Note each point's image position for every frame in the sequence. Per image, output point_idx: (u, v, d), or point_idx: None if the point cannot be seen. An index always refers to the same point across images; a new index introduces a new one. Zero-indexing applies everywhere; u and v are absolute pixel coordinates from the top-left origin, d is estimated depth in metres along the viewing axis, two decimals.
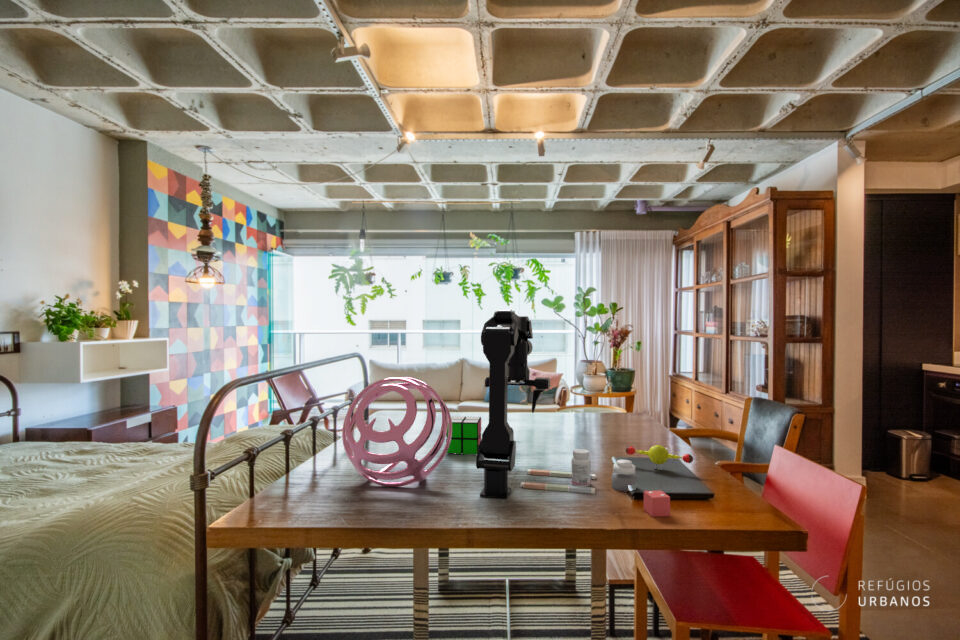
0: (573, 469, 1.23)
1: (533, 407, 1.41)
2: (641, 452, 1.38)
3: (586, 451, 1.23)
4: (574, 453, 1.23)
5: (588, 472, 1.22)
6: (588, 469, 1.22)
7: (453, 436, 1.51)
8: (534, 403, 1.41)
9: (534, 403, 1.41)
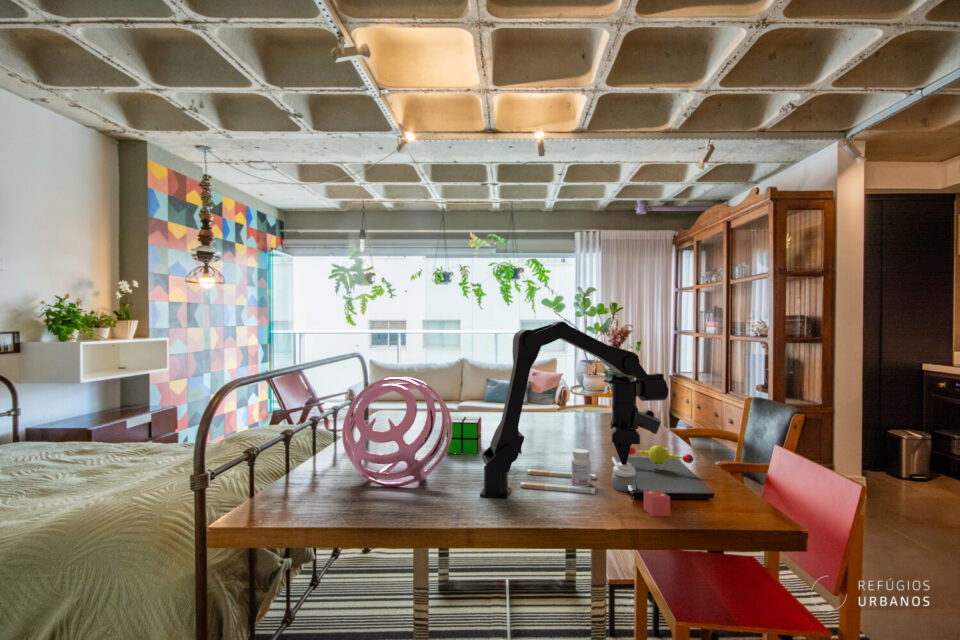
0: (573, 469, 1.23)
1: (619, 457, 1.21)
2: (641, 452, 1.38)
3: (586, 451, 1.23)
4: (574, 453, 1.23)
5: (588, 472, 1.22)
6: (588, 469, 1.22)
7: (453, 436, 1.51)
8: (617, 452, 1.21)
9: (618, 452, 1.21)
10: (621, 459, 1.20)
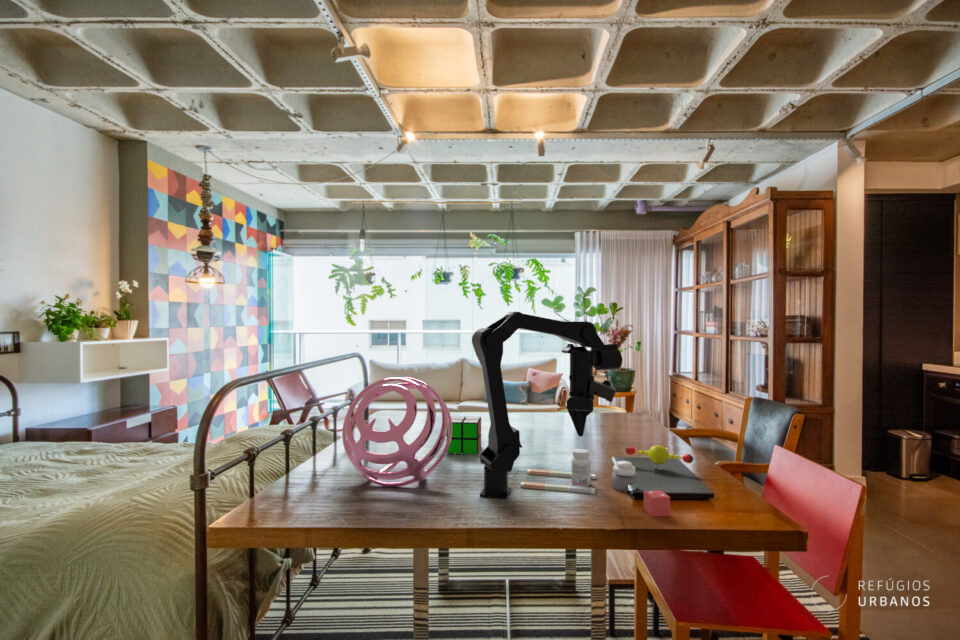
0: (573, 469, 1.23)
1: None
2: (641, 452, 1.38)
3: (586, 451, 1.23)
4: (574, 453, 1.23)
5: (588, 472, 1.22)
6: (588, 469, 1.22)
7: (453, 436, 1.51)
8: None
9: (574, 424, 1.19)
10: (577, 431, 1.19)
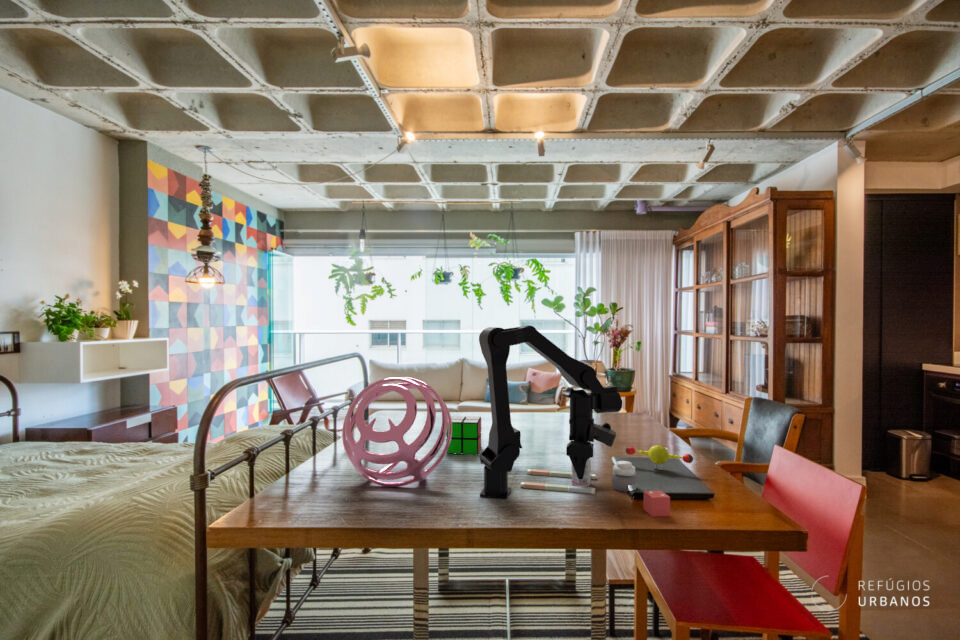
0: (573, 469, 1.23)
1: (576, 472, 1.21)
2: (641, 452, 1.38)
3: None
4: None
5: (588, 472, 1.22)
6: (588, 469, 1.22)
7: (453, 436, 1.51)
8: (574, 467, 1.21)
9: (574, 467, 1.21)
10: (577, 474, 1.21)
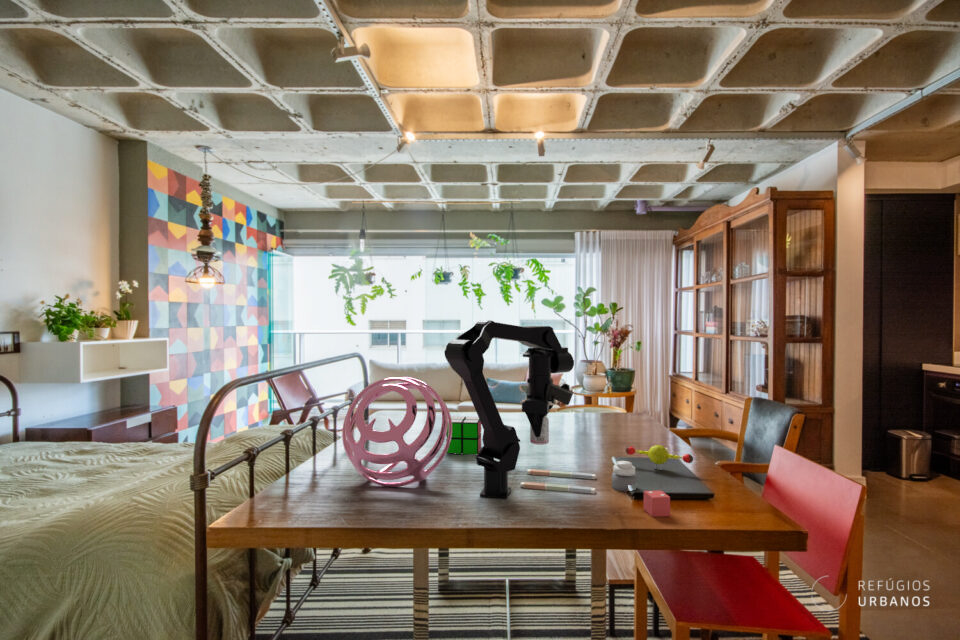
0: (531, 427, 1.25)
1: None
2: (641, 452, 1.38)
3: None
4: None
5: (545, 430, 1.24)
6: (545, 427, 1.24)
7: (453, 436, 1.51)
8: (531, 425, 1.23)
9: None
10: (535, 432, 1.23)
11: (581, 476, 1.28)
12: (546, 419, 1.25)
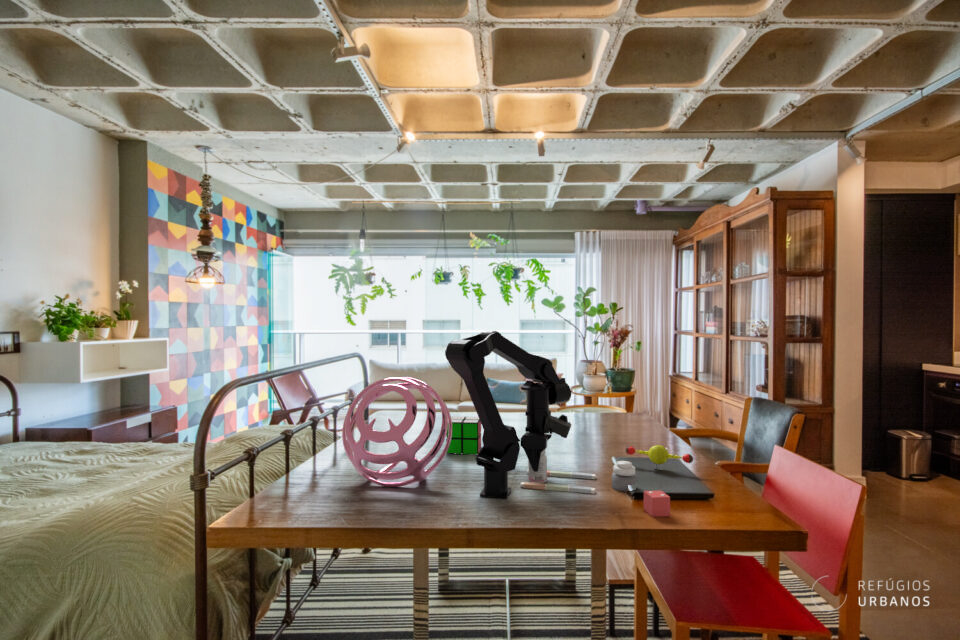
0: (529, 466, 1.25)
1: None
2: (641, 452, 1.38)
3: None
4: None
5: (544, 469, 1.24)
6: (544, 466, 1.24)
7: (453, 436, 1.51)
8: (529, 460, 1.22)
9: None
10: (532, 466, 1.22)
11: (581, 476, 1.28)
12: (544, 457, 1.25)
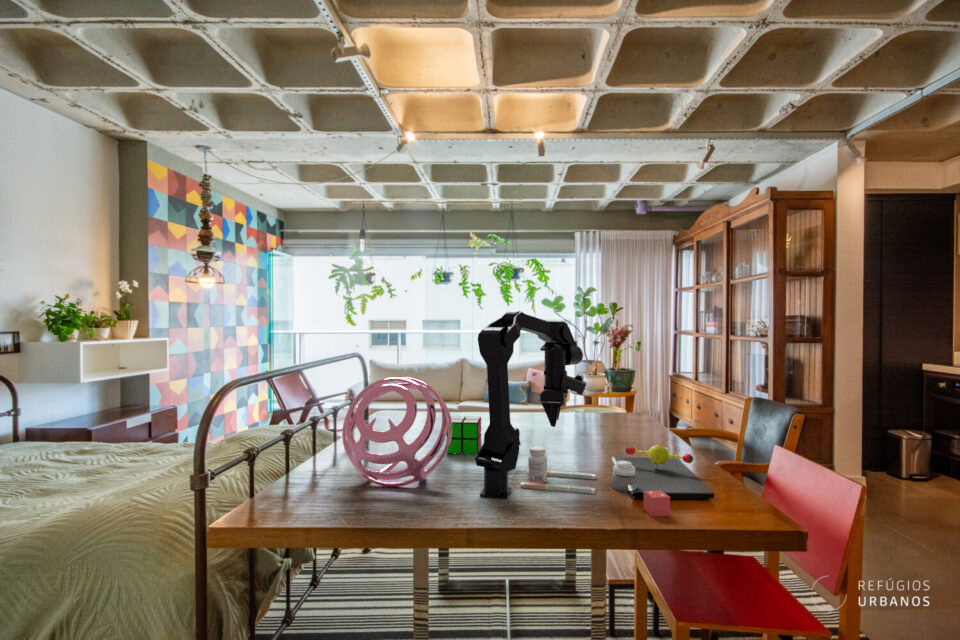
0: (529, 466, 1.25)
1: (549, 420, 1.31)
2: (641, 452, 1.38)
3: (542, 448, 1.25)
4: (530, 450, 1.25)
5: (544, 469, 1.24)
6: (544, 466, 1.24)
7: (453, 436, 1.51)
8: (547, 415, 1.30)
9: (547, 415, 1.30)
10: (550, 421, 1.30)
11: (581, 476, 1.28)
12: (544, 457, 1.25)
